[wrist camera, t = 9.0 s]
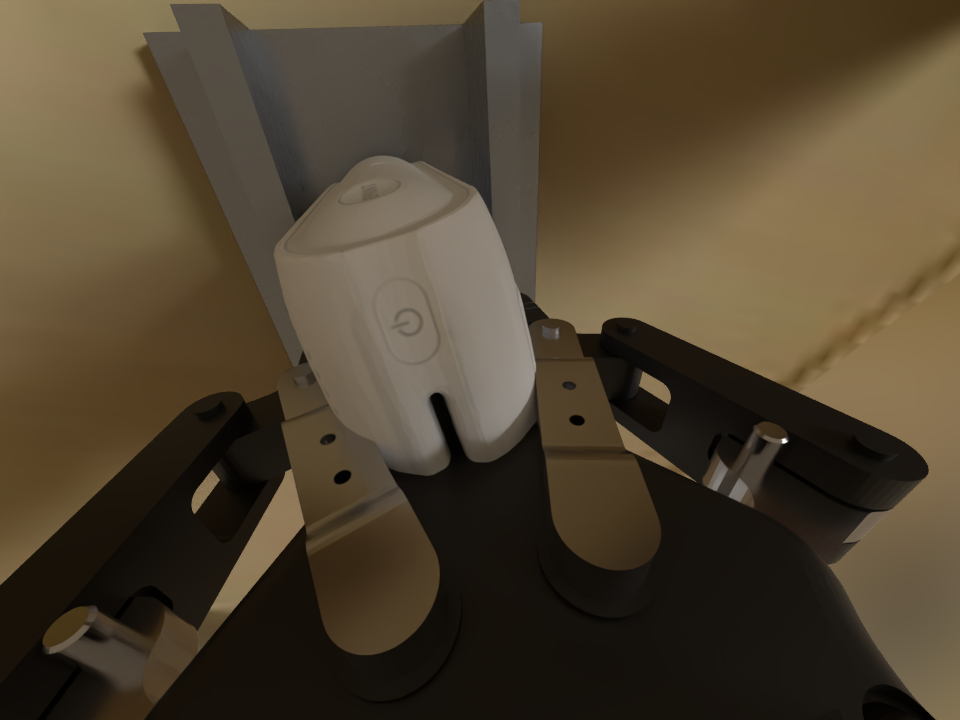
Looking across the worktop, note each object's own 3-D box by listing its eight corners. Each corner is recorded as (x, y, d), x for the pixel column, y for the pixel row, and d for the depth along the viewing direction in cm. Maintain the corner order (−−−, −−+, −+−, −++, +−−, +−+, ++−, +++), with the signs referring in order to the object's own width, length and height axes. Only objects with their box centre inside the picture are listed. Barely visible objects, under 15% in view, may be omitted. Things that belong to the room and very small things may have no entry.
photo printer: (314, 167, 13) (131, 283, 3) (423, 138, 14) (568, 161, 4) (404, 374, 19) (439, 641, 9) (478, 350, 20) (589, 581, 10)
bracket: (534, 27, 14) (579, -2, 11) (528, 374, 25) (551, 408, 21) (154, 37, 12) (80, 5, 9) (321, 418, 22) (313, 464, 19)
